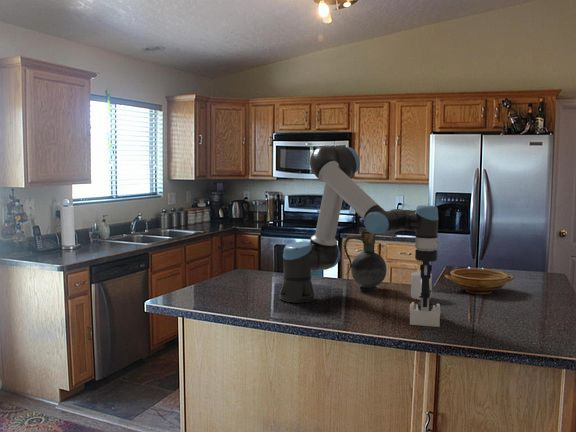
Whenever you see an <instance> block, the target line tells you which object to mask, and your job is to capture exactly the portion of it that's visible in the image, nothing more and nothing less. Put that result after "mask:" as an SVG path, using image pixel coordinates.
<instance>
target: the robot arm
mask: <svg viewBox="0 0 576 432" xmlns="http://www.w3.org/2000/svg"><path fill="white" fill-rule="evenodd" d="M309 166H310V170H311V172H312V173H313V174H314V176H315V177H316V178H317V180H319V181H320V182H322V183H324V187H323V188H324V189H323V191H322V192H323V193H322V197H321V201H320V202H321V203H320V207H319V213H318V218H317V223H316V229H315V233H314V234H313V235H311V237H310V241H294V242H290V243H288V244H286V245H285V246H284V248H283V254H282V259H283V260H282V261H283V281H282V285H281V288H280V291H279V298H280V299H281V300H283V301H282V302H284V301H286V302H285V303H290V302H292V304H302V303H303V304H304V302H305V303H310V302H311V303H312V302H313V300H314V301H315V300H316V299H317V298H316V295H317V294H316V290H315V288H314V284H313V281H312V272H317V271H322V270H323V271H327V270H329V269H332V268H334V267H336V266H337V264H339V262H340V260H341V250H340V247H339V245H338V240H337V239H336V234H337V229H338V225H339V219H340V215H341V211H342V210H341V209H342V206H343V205H342V204H343V201H344V202H345V203H346V204H347V205H348V206H349V207H351V209H352V210H354V211H355V213H356V214H357V215H359V216H360V218H362V219H363V225H365V227H366V230H367V231H368V232H370V233H373V234H376V235H377V234H379V235H381V234H384V233H385V234H386V233H393V232H401V231H410V232H415V239H414V240H415V244H414V246H415V248H416V249H415V253H414V254H415V255H414V256H415V257H414V258H415V260H416V261H417V262H418V261H419V262H422V263H421V264H420V265H419V270H420V271H419V272H421V278H422V294H421V296H419V298H421V300H420V301H421V311H429V279H430V278H431V274H432V264H430V262H435V261H438V250H437V248H438V244H439V243H440V240H439V239H438V233H439V230H438V229H439V219H440V218H439V209H438V207H437V206H435V205H425V204H424V205H422V204H421V205H417V206H416V208H415V209H416V210H410V209H400V208H398V209H397V208H395V209H394V208H393V209H390V210H385V209H384V208H383V207H381V205H379V204H378V203H377V202H376V201H375V200H374V199H373V198H372V197H371V196H370V195H369V194H368V193H367V192H366V191H364V190H363V189H362V188H361V186H359V185H358V184H357V183H356V182H355V181H354V180H353V179H352V176H353V175H355V174H356V173H357V172H358V171H359V168H360V156H359V155H358V153H357V151H356V150H355V149H354V148H353V147H351V146H343V145H340V146H339V145H322V146H319V147H317V148H315V150H313V151H312V153H311V155H310V157H309ZM430 293H431V294H432V289H431V290H430ZM280 299H279V300H280ZM281 300H280V301H281Z"/></svg>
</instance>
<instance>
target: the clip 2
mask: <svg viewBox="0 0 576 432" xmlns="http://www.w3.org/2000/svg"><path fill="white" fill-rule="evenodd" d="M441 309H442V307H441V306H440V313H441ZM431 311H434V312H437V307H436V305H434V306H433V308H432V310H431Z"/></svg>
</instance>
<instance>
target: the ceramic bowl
mask: <svg viewBox="0 0 576 432" xmlns="http://www.w3.org/2000/svg"><path fill="white" fill-rule="evenodd" d="M444 278H446V280H450V281H451V282H453V283H454V284H456V285H457V286H458V287H460V288H463V290H464V291H465V292H467V293H469V292H470V294H474V293H475V295H489V294H492V293H493V291H496V290H498V289H502V288H503V287H505V285H506V284H507V283H509V282H512V281H513V280H514V278H515V277H514V276H513V275H511V274H508V273H505V272H503V271H499V270H495V269H487V268H475V267H469V268H467V267H466V268H456V269H453V270H451V271H450V275H449V274H445V275H444Z"/></svg>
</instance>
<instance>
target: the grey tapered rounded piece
mask: <svg viewBox="0 0 576 432" xmlns="http://www.w3.org/2000/svg"><path fill="white" fill-rule="evenodd" d="M420 294H422V287H421V293H420ZM430 295H431V296H432V293H431V294H430V285H429V311H431V310H432V308H433V306H435V305H434V303H432V302H431V298H430ZM416 304H417V305H418V309H419V310H420V311H421V300H419V302H417V303H416Z"/></svg>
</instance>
